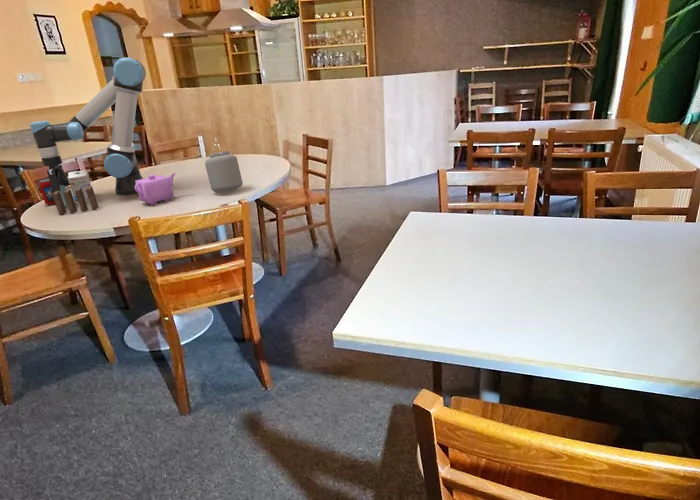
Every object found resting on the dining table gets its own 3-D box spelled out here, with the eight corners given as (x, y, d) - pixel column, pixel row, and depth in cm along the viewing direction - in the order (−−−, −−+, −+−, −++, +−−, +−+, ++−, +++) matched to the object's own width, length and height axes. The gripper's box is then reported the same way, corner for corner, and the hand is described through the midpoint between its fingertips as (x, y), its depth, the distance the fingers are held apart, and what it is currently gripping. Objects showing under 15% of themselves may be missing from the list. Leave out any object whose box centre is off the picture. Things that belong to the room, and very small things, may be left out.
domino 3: (77, 210, 207) (70, 189, 203) (74, 213, 203) (67, 191, 199) (73, 210, 207) (66, 189, 203) (70, 213, 202) (63, 192, 199)
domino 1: (66, 211, 206) (59, 190, 202) (63, 214, 202) (56, 193, 198) (62, 212, 206) (55, 191, 202) (59, 215, 201) (52, 193, 197)
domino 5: (98, 207, 209) (92, 186, 205) (96, 210, 205) (89, 188, 201) (95, 207, 209) (88, 186, 205) (92, 210, 204) (85, 189, 201)
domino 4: (88, 208, 208) (81, 187, 204) (85, 211, 204) (78, 190, 200) (84, 209, 208) (77, 188, 204) (81, 212, 203) (74, 190, 200)
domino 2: (70, 205, 217) (64, 184, 214) (68, 207, 213) (60, 187, 209) (67, 205, 217) (60, 185, 213) (64, 208, 213) (57, 187, 209)
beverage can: (54, 205, 219) (45, 181, 214) (42, 206, 220) (33, 182, 216) (64, 201, 225) (56, 178, 220) (53, 202, 227) (45, 178, 222)
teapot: (144, 208, 200) (136, 180, 195) (135, 204, 207) (128, 178, 202) (186, 197, 213) (180, 170, 208) (177, 194, 220) (171, 168, 215)
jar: (207, 190, 221) (196, 138, 212) (236, 184, 228) (227, 134, 218) (216, 198, 206) (205, 142, 196) (247, 191, 212) (238, 137, 203)
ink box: (74, 201, 224) (65, 174, 219) (75, 197, 231) (66, 172, 226) (93, 197, 228) (85, 171, 222) (93, 194, 235) (86, 169, 229)
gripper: (49, 153, 215) (64, 197, 224) (32, 161, 194) (49, 210, 203) (66, 151, 217) (80, 195, 226) (51, 159, 196) (67, 207, 205)
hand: (66, 202), depth 214 cm, fingers open, 11 cm apart
